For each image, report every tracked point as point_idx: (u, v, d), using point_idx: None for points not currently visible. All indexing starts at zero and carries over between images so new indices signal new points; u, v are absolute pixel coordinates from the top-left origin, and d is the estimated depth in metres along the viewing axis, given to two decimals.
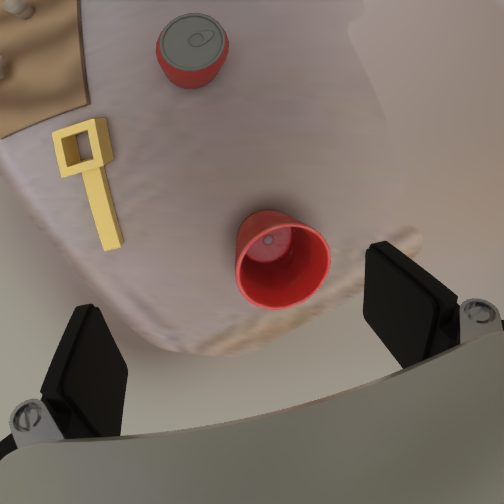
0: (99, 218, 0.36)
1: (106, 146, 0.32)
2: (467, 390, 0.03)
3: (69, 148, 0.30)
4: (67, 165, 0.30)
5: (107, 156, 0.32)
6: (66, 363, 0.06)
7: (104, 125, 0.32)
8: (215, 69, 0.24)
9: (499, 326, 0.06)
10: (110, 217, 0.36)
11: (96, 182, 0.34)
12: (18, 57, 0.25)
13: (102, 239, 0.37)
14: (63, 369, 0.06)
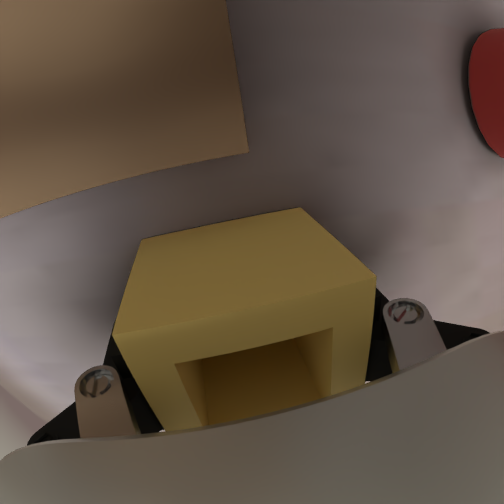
0: None
1: None
2: (467, 390, 0.03)
3: None
4: None
5: None
6: None
7: None
8: None
9: (430, 322, 0.06)
10: None
11: None
12: None
13: None
14: None
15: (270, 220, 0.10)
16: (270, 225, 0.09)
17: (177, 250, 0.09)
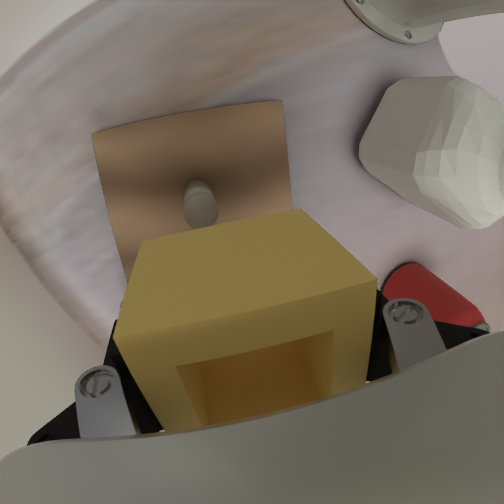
0: None
1: None
2: (467, 390, 0.03)
3: None
4: None
5: None
6: None
7: None
8: None
9: (430, 322, 0.06)
10: None
11: None
12: None
13: None
14: None
15: (271, 222, 0.10)
16: (270, 227, 0.09)
17: (178, 252, 0.09)
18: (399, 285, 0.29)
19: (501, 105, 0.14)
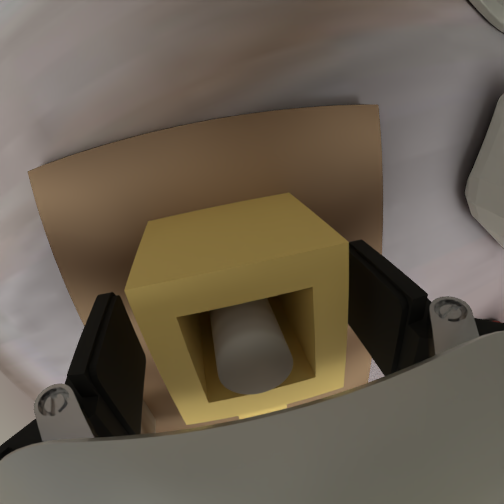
0: None
1: None
2: (467, 390, 0.03)
3: (189, 316, 0.10)
4: (206, 393, 0.09)
5: None
6: (92, 348, 0.07)
7: None
8: None
9: (472, 322, 0.06)
10: None
11: None
12: None
13: None
14: (90, 354, 0.07)
15: (262, 203, 0.11)
16: (261, 207, 0.11)
17: (180, 228, 0.10)
18: None
19: None
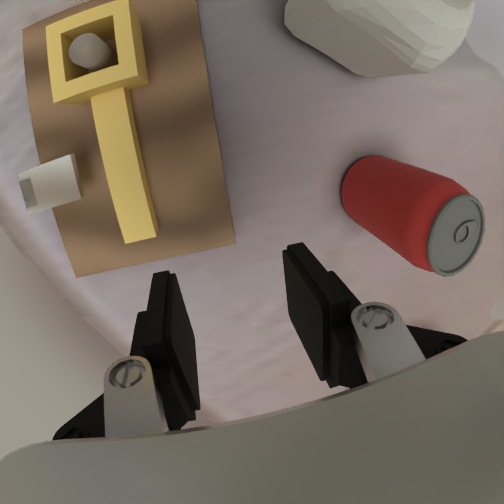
0: (118, 184, 0.20)
1: (140, 54, 0.16)
2: (467, 390, 0.03)
3: None
4: (66, 80, 0.14)
5: (142, 69, 0.16)
6: (162, 319, 0.08)
7: (138, 25, 0.16)
8: None
9: (402, 325, 0.07)
10: (138, 181, 0.20)
11: (116, 118, 0.18)
12: (99, 148, 0.20)
13: (122, 223, 0.21)
14: (162, 324, 0.08)
15: None
16: None
17: None
18: (358, 173, 0.24)
19: None
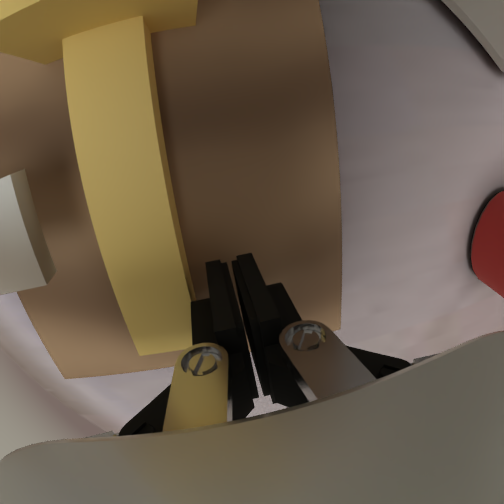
0: (121, 244, 0.09)
1: None
2: (467, 390, 0.03)
3: None
4: None
5: None
6: (229, 305, 0.08)
7: None
8: None
9: (336, 341, 0.07)
10: (169, 240, 0.09)
11: (119, 86, 0.07)
12: None
13: (132, 321, 0.10)
14: (231, 310, 0.08)
15: None
16: None
17: None
18: None
19: None
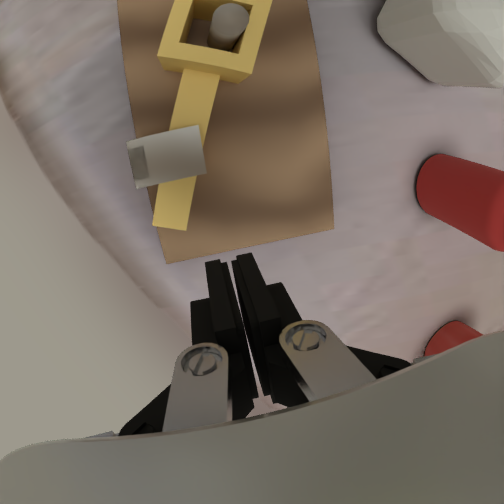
0: None
1: None
2: (467, 390, 0.03)
3: (188, 22, 0.15)
4: (179, 40, 0.14)
5: None
6: (229, 305, 0.08)
7: None
8: None
9: (336, 341, 0.07)
10: None
11: (200, 101, 0.18)
12: (209, 126, 0.21)
13: (159, 204, 0.21)
14: (231, 310, 0.08)
15: None
16: None
17: None
18: (434, 169, 0.25)
19: None
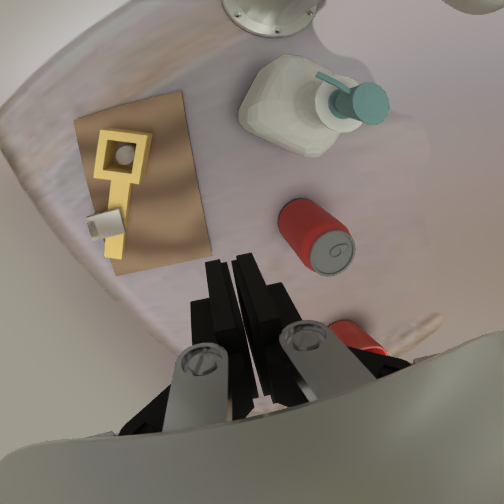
0: None
1: (145, 163, 0.34)
2: (467, 390, 0.03)
3: (109, 150, 0.32)
4: (103, 168, 0.31)
5: (142, 174, 0.34)
6: (229, 305, 0.08)
7: (149, 142, 0.34)
8: None
9: (337, 341, 0.07)
10: None
11: (121, 192, 0.35)
12: (131, 201, 0.38)
13: (106, 246, 0.37)
14: (231, 309, 0.08)
15: (142, 132, 0.34)
16: (140, 132, 0.34)
17: (118, 129, 0.33)
18: (286, 213, 0.42)
19: (311, 65, 0.26)
